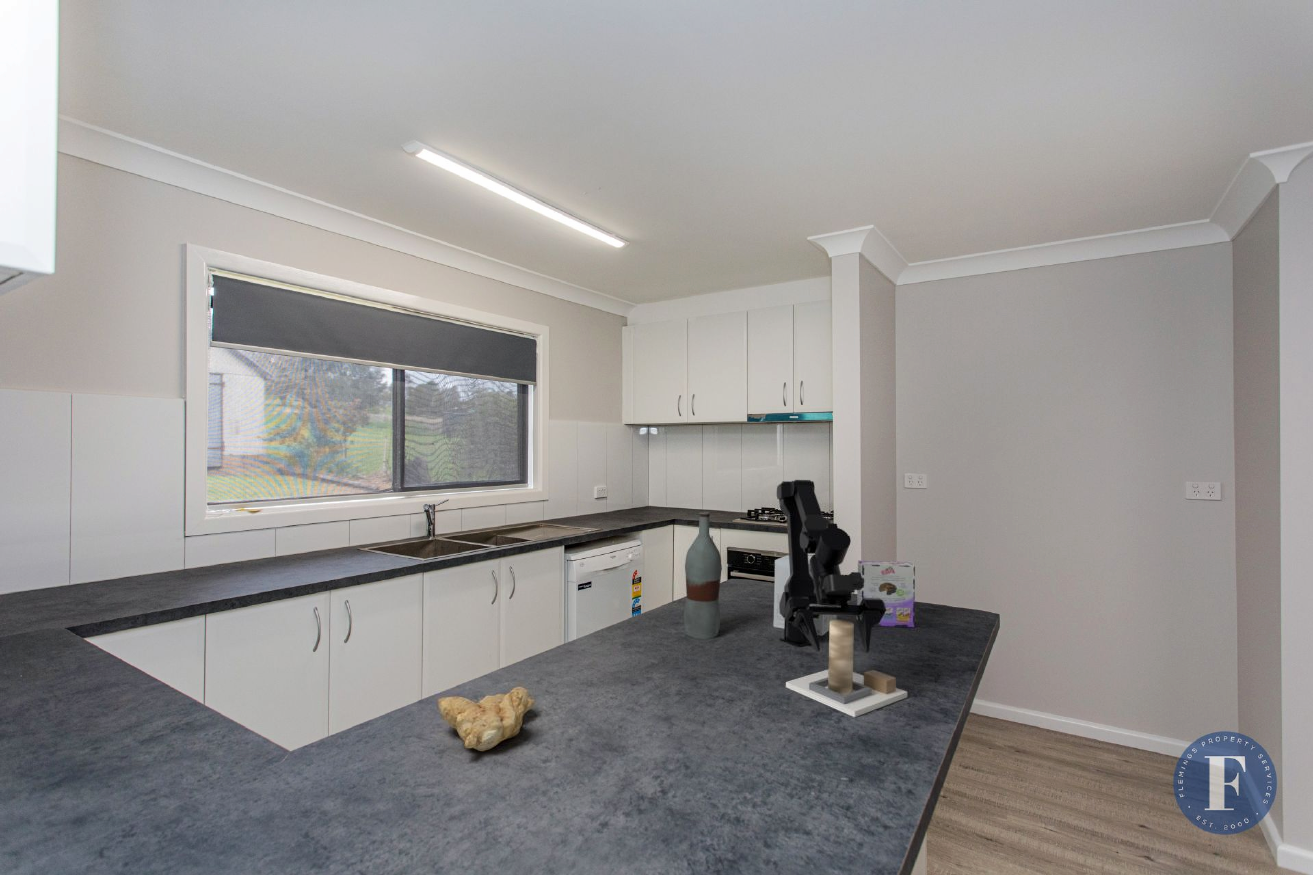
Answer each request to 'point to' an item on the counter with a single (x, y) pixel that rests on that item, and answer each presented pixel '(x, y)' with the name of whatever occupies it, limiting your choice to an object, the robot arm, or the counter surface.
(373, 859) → the counter surface
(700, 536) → the bottle
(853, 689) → the plate
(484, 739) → the ginger root
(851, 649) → the wooden column
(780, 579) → the supplement box
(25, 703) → the counter surface
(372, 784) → the counter surface
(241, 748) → the counter surface
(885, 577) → the candy box
